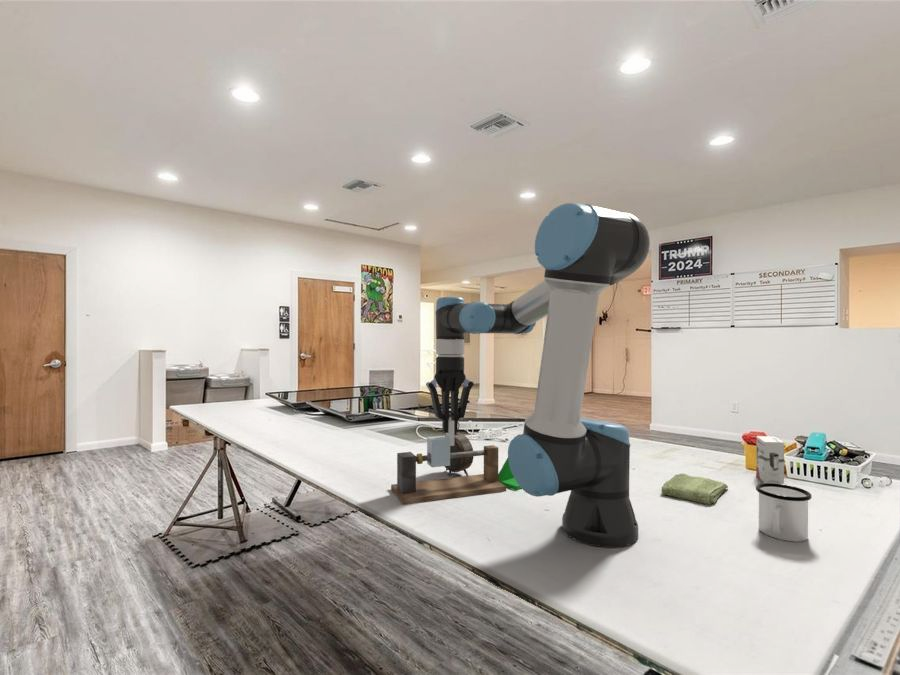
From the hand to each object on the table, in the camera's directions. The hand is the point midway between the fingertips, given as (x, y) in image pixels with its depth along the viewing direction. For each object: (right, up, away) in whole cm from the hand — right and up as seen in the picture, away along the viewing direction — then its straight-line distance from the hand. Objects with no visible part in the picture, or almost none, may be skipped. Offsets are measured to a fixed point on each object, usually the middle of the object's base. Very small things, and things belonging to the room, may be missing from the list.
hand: (449, 444), depth 125 cm
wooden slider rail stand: (0, -12, 0) cm, 12 cm away
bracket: (+20, -13, +7) cm, 24 cm away
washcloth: (+64, -13, -1) cm, 65 cm away
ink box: (+91, -12, +9) cm, 92 cm away
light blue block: (-3, -5, -1) cm, 6 cm away
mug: (+68, -12, -28) cm, 75 cm away
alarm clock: (+1, -12, +14) cm, 18 cm away
